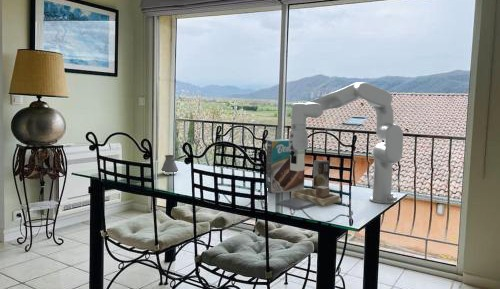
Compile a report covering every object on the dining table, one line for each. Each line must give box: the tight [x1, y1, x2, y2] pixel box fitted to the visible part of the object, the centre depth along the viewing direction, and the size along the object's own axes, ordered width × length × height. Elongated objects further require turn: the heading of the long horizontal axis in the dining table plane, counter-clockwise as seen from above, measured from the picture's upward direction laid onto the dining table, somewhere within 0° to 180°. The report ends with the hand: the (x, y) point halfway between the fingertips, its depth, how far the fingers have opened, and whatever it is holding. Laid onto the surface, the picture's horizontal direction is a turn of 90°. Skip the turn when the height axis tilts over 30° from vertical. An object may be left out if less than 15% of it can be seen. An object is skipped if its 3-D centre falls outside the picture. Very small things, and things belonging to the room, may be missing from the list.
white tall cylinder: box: [290, 149, 306, 171], centre depth 225 cm, size 5×5×12 cm
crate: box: [290, 187, 341, 207], centre depth 238 cm, size 22×14×4 cm, turn 42°
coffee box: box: [312, 159, 330, 189], centre depth 268 cm, size 9×6×16 cm
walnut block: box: [315, 186, 330, 199], centre depth 234 cm, size 5×5×8 cm
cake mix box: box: [266, 138, 306, 194], centre depth 257 cm, size 22×6×30 cm, turn 114°
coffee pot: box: [160, 154, 187, 173], centre depth 297 cm, size 21×12×15 cm, turn 62°
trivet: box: [276, 197, 316, 211], centre depth 228 cm, size 14×14×1 cm
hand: (297, 162), depth 225 cm, fingers closed on white tall cylinder, 5 cm apart
